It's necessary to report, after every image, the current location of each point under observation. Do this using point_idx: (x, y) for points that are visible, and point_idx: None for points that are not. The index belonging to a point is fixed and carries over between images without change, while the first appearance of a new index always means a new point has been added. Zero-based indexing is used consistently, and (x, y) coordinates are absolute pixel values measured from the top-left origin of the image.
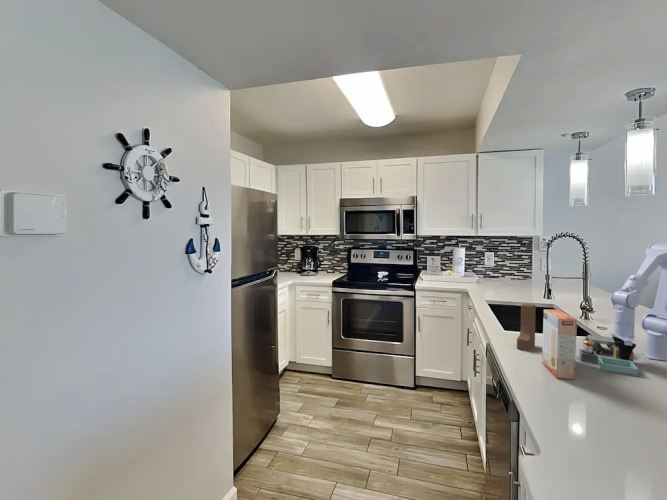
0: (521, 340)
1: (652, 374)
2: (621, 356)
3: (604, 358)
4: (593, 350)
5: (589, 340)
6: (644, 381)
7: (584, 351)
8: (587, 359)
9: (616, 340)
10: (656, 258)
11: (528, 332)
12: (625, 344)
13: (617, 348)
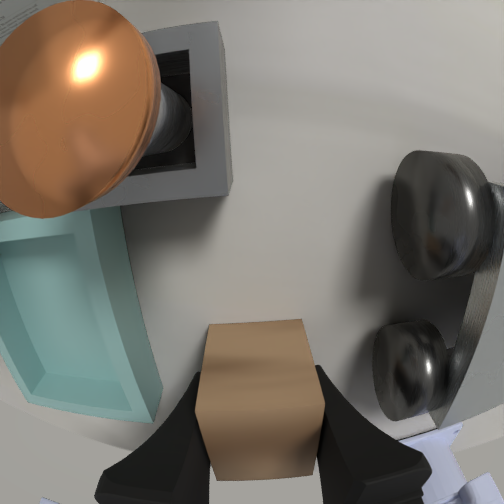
0: None
1: (123, 433)
2: (186, 396)
3: (83, 263)
4: (405, 189)
5: (112, 108)
6: (11, 377)
7: (193, 73)
8: None
9: (343, 476)
10: None
11: None
12: (41, 501)
13: (258, 423)
